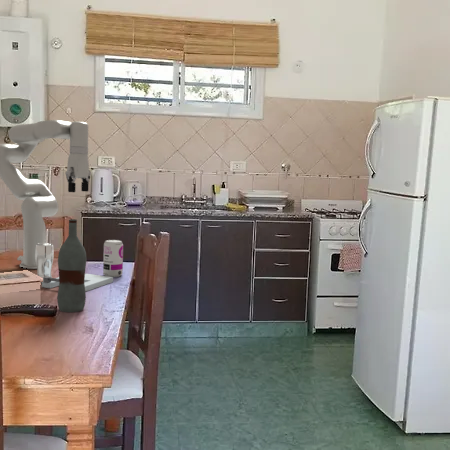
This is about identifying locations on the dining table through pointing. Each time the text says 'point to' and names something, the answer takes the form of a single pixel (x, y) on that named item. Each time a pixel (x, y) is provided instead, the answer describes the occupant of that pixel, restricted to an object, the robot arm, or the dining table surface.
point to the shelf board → (89, 281)
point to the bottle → (71, 272)
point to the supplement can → (113, 258)
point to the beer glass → (44, 259)
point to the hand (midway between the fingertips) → (78, 191)
